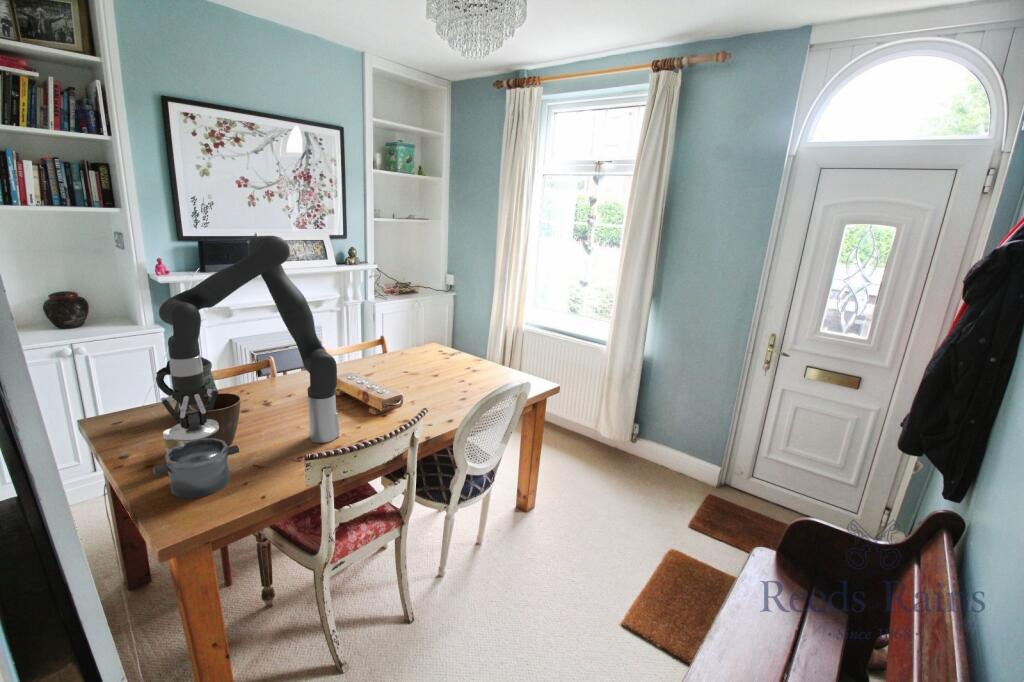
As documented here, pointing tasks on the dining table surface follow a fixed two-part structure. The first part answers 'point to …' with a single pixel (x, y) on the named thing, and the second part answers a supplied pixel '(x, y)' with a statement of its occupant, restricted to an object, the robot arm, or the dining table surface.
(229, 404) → the plant pot
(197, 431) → the lid
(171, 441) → the sprinkles bottle
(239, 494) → the dining table surface
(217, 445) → the pot
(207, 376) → the beer stein
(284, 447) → the dining table surface
